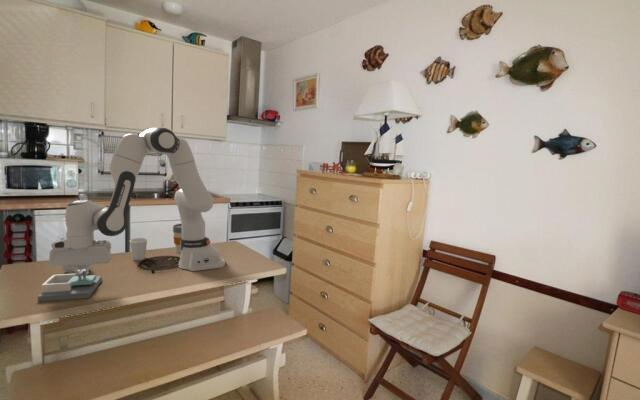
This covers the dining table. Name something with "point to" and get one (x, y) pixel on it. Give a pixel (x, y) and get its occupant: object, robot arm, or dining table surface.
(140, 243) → the dixie cup
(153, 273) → the dining table surface
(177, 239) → the reusable coffee cup
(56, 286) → the dock
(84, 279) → the trolley
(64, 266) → the teacup
